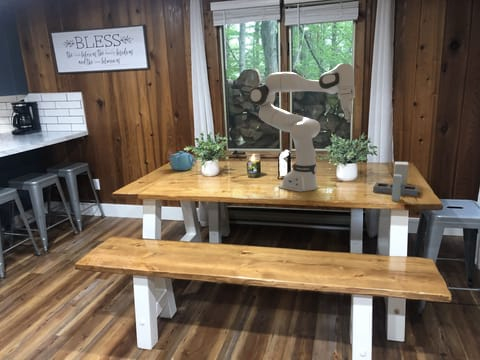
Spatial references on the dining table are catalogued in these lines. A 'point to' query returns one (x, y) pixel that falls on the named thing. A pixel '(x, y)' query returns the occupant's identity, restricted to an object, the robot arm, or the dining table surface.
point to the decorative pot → (181, 161)
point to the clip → (396, 187)
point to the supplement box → (402, 171)
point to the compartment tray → (387, 189)
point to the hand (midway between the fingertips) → (347, 120)
